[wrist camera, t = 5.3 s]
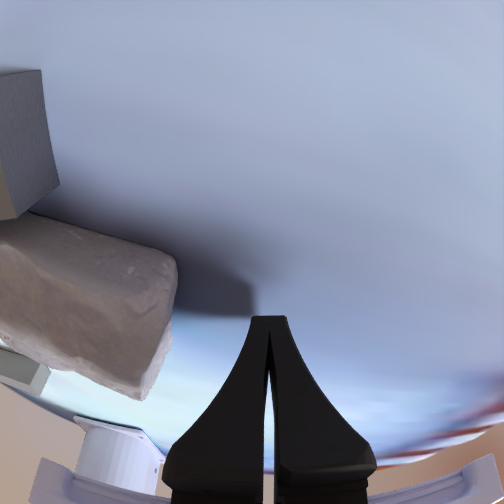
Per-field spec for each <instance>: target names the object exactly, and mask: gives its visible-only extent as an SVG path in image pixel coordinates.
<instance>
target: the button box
mask: <svg viewBox="0 0 504 504" xmlns="http://www.w3.org/2000/svg"><path fill="white" fill-rule="evenodd" d="M59 185H60V183H59V179H58V175H57V170H56V166H55V161H54V157H53V152H52V147H51V142H50V136H49V131H48V125H47V118H46V112H45V104H44V96H43V87H42V77H41V70H35V71H28V72H22V73H16V74H10V75H5V76H0V220H7V219H14V218H18V217H19V216H20V215H21V214H23V213H24V212H25V211H26V210H27V209H29V208H30V207H31V206H32V205H34V204H35V203H36V202H37V201H39V200H40V199H41V198H43V197H44V196H45V195H47V194H48V193H49V192H51V191H52V190H53V189H55V188H56V187H57V186H59Z"/></svg>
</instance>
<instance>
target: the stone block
mask: <svg viewBox="0 0 504 504" xmlns="http://www.w3.org/2000/svg"><path fill="white" fill-rule="evenodd" d="M177 278H178V271H177V266H176V262H175V259H174V258H173V257H172V256H171V255H168V254H166V253H164V252H162V251H160V250H157V249H154V248H151V247H147V246H143V245H140V244H136V243H133V242H130V241H127V240H123V239H119V238H116V237H112V236H108V235H105V234H101V233H98V232H95V231H92V230H88V229H84V228H80V227H77V226H74V225H71V224H67V223H64V222H60V221H57V220H55V219H52V218H47V217H41V216H38V215H34V214H32V213H30V212H28V211H25V212H24V213H23V214H21V215H20V216H19V217H18V218H14V219H7V220H0V338H1V339H2V341H3V342H4V343H6V344H7V345H8V346H9V347H11V348H12V349H13V350H14V351H16V352H18V353H20V354H22V355H25V356H27V357H29V358H31V359H33V360H35V361H36V362H38V363H40V364H42V365H45V366H47V367H49V368H52V369H56V370H61V371H75V372H77V373H79V374H81V375H83V376H85V377H87V378H89V379H91V380H92V381H94V382H96V383H98V384H99V385H102V386H105V387H107V388H110V389H112V390H114V391H116V392H119V393H121V394H124V395H126V396H128V397H130V398H132V399H134V400H139V401H143V400H144V399H146V397H147V395H148V393H149V390H150V389H151V388H152V385H153V384H154V382H155V380H156V378H157V376H158V373H159V372H160V369H161V367H162V365H163V363H164V359H165V356H166V354H167V353H168V352H169V351H170V348H171V344H172V343H173V338H172V321H171V314H172V310H173V305H174V297H175V294H176V290H177V286H178V279H177Z"/></svg>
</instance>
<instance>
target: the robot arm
mask: <svg viewBox="0 0 504 504" xmlns="http://www.w3.org/2000/svg"><path fill="white" fill-rule="evenodd" d="M269 374H270V383H271V392H272V401H273V411H274V504H494V503H496V502H498V501H499V500H501V499H503V498H504V494H503V489H502V485H501V481H500V477H499V473H498V470H497V466H496V463H495V459H494V455H493V453H490V454H488V455H486V456H484V457H481V458H479V459H477V460H475V461H472V462H471V463H469V464H467V465H465V466H464V467H463V468H462V469H460V470H458V471H455V472H452V473H450V474H447V475H444V476H441V477H438V478H435V479H432V480H430V481H426V482H423V483H420V484H416V485H413V486H409V487H406V488H402V489H398V490H394V491H390V492H386V493H381V494H377V495H372V496H367V491H366V488H367V487H368V480H367V478H368V477H369V476H370V475H371V474H372V473H374V471H375V470H376V469H377V463H376V459H375V456H374V454H373V451H372V449H371V447H370V445H369V443H368V442H367V441H366V440H365V439H364V438H363V437H362V436H361V435H359V434H358V433H357V432H356V431H355V430H354V429H353V428H352V427H351V426H350V425H349V424H348V422H347V421H346V420H345V419H344V418H343V417H342V416H341V415H340V413H339V412H338V411H337V410H336V409H335V407H334V406H333V405H332V404H331V403H330V401H329V400H328V399H327V397H326V396H325V395H324V393H323V392H322V390H321V389H320V387H319V386H318V385H317V383H316V381H315V380H314V378H313V377H312V375H311V373H310V372H309V370H308V368H307V366H306V364H305V363H304V361H303V359H302V357H301V355H300V352H299V350H298V348H297V346H296V344H295V342H294V339H293V337H292V334H291V331H290V328H289V325H288V321H287V317H285V316H284V315H281V316H253V317H252V318H251V323H250V328H249V331H248V334H247V337H246V340H245V343H244V345H243V347H242V350H241V352H240V354H239V357H238V359H237V361H236V363H235V365H234V367H233V369H232V370H231V372H230V374H229V376H228V378H227V379H226V381H225V383H224V384H223V386H222V388H221V389H220V391H219V392H218V394H217V395H216V396H215V398H214V399H213V401H212V402H211V404H210V405H209V406H208V407H207V409H206V410H205V411H204V412H203V414H202V415H201V416H200V417H199V418H198V419H197V421H196V422H195V423H194V424H193V425H192V426H191V427H190V428H189V429H188V430H187V431H186V432H185V433H184V434H183V435H182V436H181V437H180V438H179V439H178V440H177V441H176V442H175V443H174V444H173V445H172V447H171V449H170V451H169V453H168V455H167V457H165V456H164V455H163V454H162V453H161V452H160V451H159V449H158V448H157V447H156V446H155V445H154V444H153V442H152V441H151V440H150V439H149V438H148V436H147V435H146V434H145V433H144V432H143V431H141V430H136V429H131V428H126V427H121V426H116V425H111V424H107V423H103V422H98V421H94V420H90V419H86V418H83V417H79V416H74V417H73V420H74V421H75V422H76V423H77V424H78V425H79V426H80V427H81V428H82V429H83V430H84V431H85V432H86V435H85V439H84V442H83V445H82V448H81V451H80V455H79V458H78V461H77V465H76V468H75V472H74V473H73V472H72V471H71V470H69V469H68V468H66V467H64V466H62V465H60V464H57V463H55V462H53V461H50V460H48V459H45V458H41V460H40V463H39V466H38V469H37V473H36V476H35V479H34V483H33V486H32V490H31V493H30V497H29V502H30V503H31V504H263V466H264V414H265V405H266V395H267V385H268V375H269ZM160 463H162V464H164V467H163V473H162V481H163V482H164V483H165V484H166V485H167V486H169V487H170V488H171V489H173V490H172V497H171V499H170V498H165V497H159V496H155V490H156V484H157V479H158V472H159V467H160Z"/></svg>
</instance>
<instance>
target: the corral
mask: <svg viewBox="0 0 504 504" xmlns="http://www.w3.org/2000/svg"><path fill="white" fill-rule="evenodd" d="M50 373H51V372H50V370H49V369H48V368H47V366H45V365H42V364H40V363H38V362H36V361H35V360H33V359H31V358H29V357H27V356H23V355H20V354H16V353H13V352H9V351H6V350H3V349H0V382H2V383H4V384H7V385H9V386H12V387H15V388H17V389H20V390H23V391H25V392H28V393H31V394H34V395H37V396H40V395H41V392H42V390H43V388H44V386H45V384H46V382H47V380H48V377H49V375H50Z"/></svg>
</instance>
